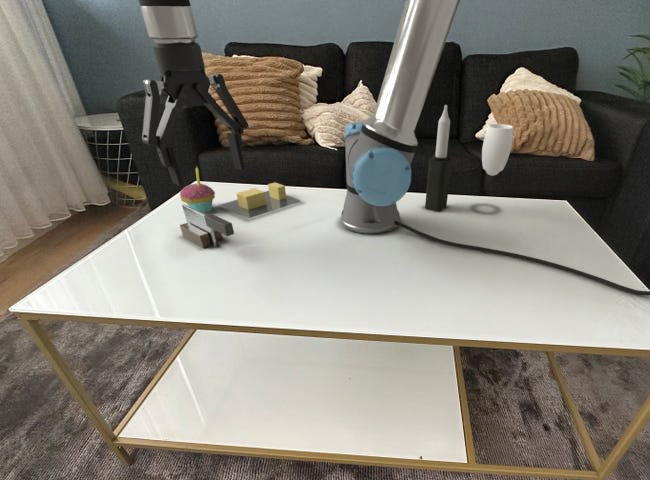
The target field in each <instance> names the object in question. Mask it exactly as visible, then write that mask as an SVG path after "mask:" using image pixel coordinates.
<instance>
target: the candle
mask: <svg viewBox="0 0 650 480" xmlns="http://www.w3.org/2000/svg"><path fill="white" fill-rule="evenodd" d="M437 124H438V125H437V134H436V143H435V144H436V145H435V154H434V155H432V156H431V157H430V158H429V159H428V168H427V170H428V171H427V179H426V180H427V181H426V192H425V205H424V208H425V209H426V210H430V211H434V212H442V211H443V210H445V209H447V206H448V197H449V189H450V181H451V172H452V164H453V163H452V162H453V159H452V158H451V156H450V155H448V146H449V137H450V128H451V119H450V117H449V113H448V105H447V104H445V105H444V106H443V111H442V114H441V116H440V118H439V120H438V123H437Z"/></svg>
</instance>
